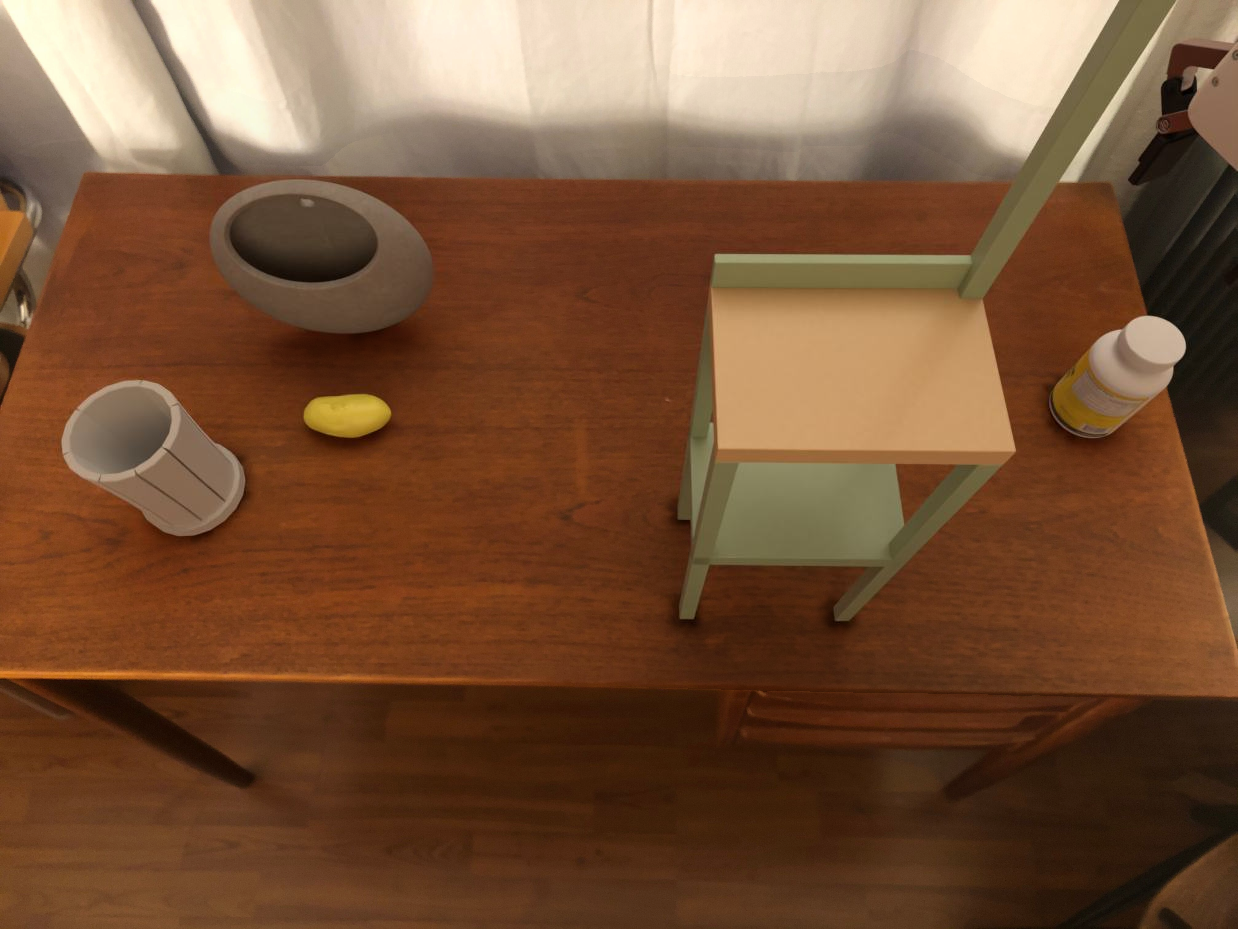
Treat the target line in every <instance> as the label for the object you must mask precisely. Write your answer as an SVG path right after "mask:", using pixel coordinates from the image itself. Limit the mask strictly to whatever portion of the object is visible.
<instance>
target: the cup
mask: <svg viewBox="0 0 1238 929" xmlns="http://www.w3.org/2000/svg"><path fill="white" fill-rule="evenodd" d="M60 442H61V452H62V457H63V459H64V461H65V463H66V464H67V466H68V467H69V469H70V471H72V472H74V473H75V474H76V475H77V476H79V477H80V478H81V479H83V480H86V481H87V482H89V483H92V484H93V485H95V486H97V487H99V488H101V489H102V490H105V491H107V492H109V493H110V494H112V495H113V496H116V497H117V498H120V499H121V500H123V501H125V502H126V503H128V504H130V505H132V506H134V507H135V508H136V509H138V510H140V511H141V513H142V514H143V516H144V517H145V520H147V521H148V522H149V523H151V524H152V525H153V526H155V527H156V528H157V529H159V530H160V531H162V532H163V533H166V534H170V535H172V536H177V537H187V536H188V537H190V536H197V535H200V534H203V533H206V532H209V531H212V530H213V529H214V528H216V527H218V526H219V525H221V524H222V523H223V522H225V521H226V520H227V519H228V518H229V517H230V516H231V515H232V514H233V512H235V511H236V509H237V508H238V505H239V504H240V502H241V500H242V498H243V497H244V492H245V487H246V476H245V471H244V467H243V465H242V464H241V463H240V461H239V459H238V458H237V457H236V455H235V454H233V452H232V451H230V450H228V448H226V447H224V446H223V445H221V444H220V443H216V442H215V441H213V439H211V438H210V436H209V435H208V434H207V433H206V432H205V431H203V429H202V428H201V427H200V425H199V424H197V422H196V421H195V420H194V419H193V418H192V417H191V415H190V414H189V413H188V411H187V410H186V409H185V408H184V407H183V405H182V404H181V403H180V402H179V401H178V399H177V398H176V396H175V395H174V394H173V393H172V392H171V391H170V390H169V389H167V388H166V387H164V386H163V385H161V384H160V383H156V382H153V381H148V380H144V379H143V380H142V379H133V380H123V381H119V382H116V383H113V384H110V385H106V386H105V387H103V388H101V389H99V390H98V391H96V392H94V393H92V394H90V395H89V396H88V397H87V398H86V399H85V400H83V401H82V402H81V403H80V404H79V405H78V406H77V407H76V409H75V410H74V411H73V412H72V414H71V416H70V417H69V418H68V420H67V421H66V424H65V426H64V430H63V433H62V436H61V441H60Z"/></svg>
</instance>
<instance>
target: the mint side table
mask: <svg viewBox="0 0 1238 929" xmlns="http://www.w3.org/2000/svg"><path fill="white" fill-rule="evenodd" d="M1176 2H1177V0H1118V1H1117V3H1116V6H1115V7H1113V10H1112V12H1111V13H1110V15H1109V16H1108V18H1107V20H1106V22H1105V23H1104V26H1103V27H1102V29H1101V30H1100V32H1099V34H1098V36H1097V37H1096V39H1095V41H1094V43H1093V44H1092V46H1091V48H1090V49H1089V51H1088V53H1087V55H1086V57H1085V58H1084V60H1083V61H1082V63H1081V65H1080V66H1079V68H1078V70H1077V72H1076V73H1075V75H1074V76H1073V79H1072V81H1071V82H1070V83H1069V86H1068V88H1067V89H1066V90H1065V93H1064V94H1063V96H1062V97H1061V99H1060V101H1059V103H1058V105H1057V106H1056V108H1055V110H1054V111H1053V113H1052V115H1051V116H1050V118H1049V120H1048V122H1047V123H1046V125H1045V127H1044V128H1043V131H1042V132H1041V134H1040V136H1039V137H1038V139H1037V141H1036V142H1035V143H1034V146H1033V147H1032V149H1031V151H1030V153H1029V155H1028V156H1027V158H1026V160H1025V162H1024V163H1023V164H1022V166H1021V168H1020V170H1019V171H1018V173H1017V175H1016V177H1015V179H1014V181H1012V184H1011V185H1010V187H1009V189H1008V191H1007V192H1006V194H1005V196H1004V198H1003V199H1002V201H1001V203H1000V204H999V206H998V208H997V210H996V212H995V213H994V215H993V216H992V218H991V220H990V222H989V223H988V225H987V227H986V228H985V230H984V231H983V234H982V235H981V237H980V239H979V241H978V242H977V244H976V245H975V248H974V249H973V251H972V252H971V254H823V253H822V254H821V253H820V254H819V253H818V254H816V253H815V254H811V253H809V254H807V253H806V254H803V253H802V254H801V253H714V255H713V261H712V267H711V274H710V281H709V288H708V296H707V301H706V302H707V303H706V309H705V317H704V323H703V330H702V336H701V344H700V351H699V358H698V363H697V369H696V370H697V371H696V378H695V385H694V386H695V387H694V391H693V398H692V405H691V412H690V413H691V414H690V419H689V426H688V432H687V440H686V446H685V454H684V461H683V467H682V473H681V474H682V475H681V481H680V488H679V494H678V495H679V496H678V501H677V521H678V520H679V521H688V520H689V521H690V552H689V556H688V562H687V566H686V571H685V575H684V581H683V585H682V589H681V595H680V598H679V603H678V618H679V619H680V620H694V619H695V616H696V612H697V609H698V605H699V602H700V598H701V595H702V592H703V588H704V585H705V581H706V577H707V574H708V571H709V568H710V565H711V566H712V565H713V566H786V567H787V566H790V567H793V566H794V567H866V569H865V570H864V571H863V572H862V574H861V575H860V576H859V577H858V578H857V579H856V580H855V582H854V583H852V585H851V586H850V587H849V588H848V589H847V591H846V592H845V593H844V594H843V595H842V597H841V598H840V599H839V600H838V601H837V602H836V603H835V605H833V607H832V608H833V617H834V621H835V622H849V621H850V620H851V619H852V618H854V616H855V615H856V614H857V613H859V611H860V610H861V609H862V608H864V606H865V605H866V604H867V603H868V602H869V601H870V600H871V599H872V598H873V597H874V596H875V595H877V593H878V592H879V591H880V590H881V589H882V588H883V587H884V586H885V585H886V584H887V583H888V582H889V581H890V580H891V579H892V578H893V577H894V576H895V575H896V574H897V573H898V572H899V571H900V570H901V569H902V568H903V567H904V566H905V565H906V564H907V563H908V562H909V561H910V560H911V559H912V558H913V557H914V556H915V555H916V554H917V553H918V552H919V551H920V550H921V548H923V547H924V545H925V544H927V542H928V541H929V540H930V539H932V537H934V535H935V534H936V533H937V532H938V531H939V530H940V529H941V528H943V526H944V525H946V523H948V521H949V520H951V518H952V517H953V516H954V515H955V514H956V513H957V512H959V510H960V509H962V507H963V506H964V505H965V504H966V503H967V502H968V501H969V500H971V498H972V497H973V496H974V495H976V493H977V492H978V491H979V490H980V489H981V488H982V487H983V486H984V485H985V484H987V482H988V481H989V480H990V479H991V478H992V477H993V476H994V475H995V474H996V473H997V471H998V470H1000V469H1001V468H1002V467H1003V465H1005V464H1006V463H1007V461H1009V460H1010V459H1011V458H1012V457H1013V455H1015V454H1016V453H1017V449H1016V445H1015V440H1014V435H1013V432H1012V427H1011V422H1010V417H1009V412H1008V409H1007V403H1006V398H1005V395H1004V389H1003V386H1002V382H1001V377H1000V373H999V368H998V363H997V359H996V354H995V349H994V344H993V341H992V334H991V331H990V326H989V323H988V322H989V321H988V317H987V313H986V309H985V308H986V307H985V303H984V298H985V296H986V295H987V293H988V291H990V289H991V287H992V285H993V284H994V282H995V281H996V279H997V278H998V276H999V274H1000V273H1001V272H1002V270H1003V269H1004V267H1005V265H1006V264H1007V262H1008V261H1009V259H1010V258H1011V256H1012V255H1013V253H1014V252H1015V250H1016V249H1017V247H1018V245H1019V244H1020V242H1021V241H1022V239H1023V238H1024V236H1025V234H1026V233H1027V231H1028V230H1029V229H1030V227H1031V225H1032V224H1033V222H1034V221H1035V219H1036V217H1037V216H1038V214H1039V213H1040V212H1041V210H1042V208H1043V207H1044V205H1045V204H1046V202H1047V201H1048V199H1049V197H1051V195H1052V194H1053V191H1054V190H1055V189H1056V187H1057V185H1058V183H1059V182H1060V180H1061V179H1062V177H1063V176H1064V174H1065V173H1066V171H1067V170H1068V168H1069V167H1070V165H1071V164H1072V163H1073V160H1074V159H1075V158H1076V156H1077V154H1078V153H1079V151H1080V150H1081V148H1082V147H1083V145H1084V144H1085V142H1086V141H1087V139H1088V137H1089V136H1090V134H1091V133H1092V131H1093V130H1094V128H1095V127H1096V125H1097V123H1099V121H1100V119H1101V117H1102V116H1103V114H1104V113H1105V111H1106V110H1107V108H1108V106H1110V104H1111V102H1112V100H1113V99H1114V97H1115V96H1116V94H1117V93H1118V91H1119V90H1120V89H1121V87H1122V85H1123V83H1124V82H1125V81H1126V79H1127V77H1128V76H1129V74H1130V73H1131V71H1132V70H1133V68H1134V67H1135V66H1136V64H1137V62H1138V60H1139V59H1140V57H1141V56H1142V55H1143V53H1144V51H1145V50H1146V48H1147V47H1148V45H1149V43H1150V42H1151V40H1152V39H1153V38H1154V36H1155V35H1156V33H1157V31H1158V30H1159V29H1160V27H1161V25H1162V23H1163V22H1164V21H1165V19H1166V18H1167V16H1168V15H1169V13H1170V12H1171V10H1172V9H1173V7H1174V5H1175V4H1176ZM711 420H712V422H711ZM896 465H954V467H953V468H952V469H951V470H950V471H949V473H948V474H947V475H946V476H945V478H943V480H942V481H941V482H940V483H939V485H938V486H937V487H936V488H935V489H934V490H933V491H932V492H931V494H930V495H929V496H928V497H927V498H926V499H925V500H924V501H923V503H922V504H921V505H920V506H919V507H918V508H917V509H916V511H915V512H914V514H913V515H912V516H911V517H910V518H909V519H908V520H907V521H906V522H905V520H904V513H903V507H902V500H901V492H900V485H899V479H898V472H897V466H896Z"/></svg>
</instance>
